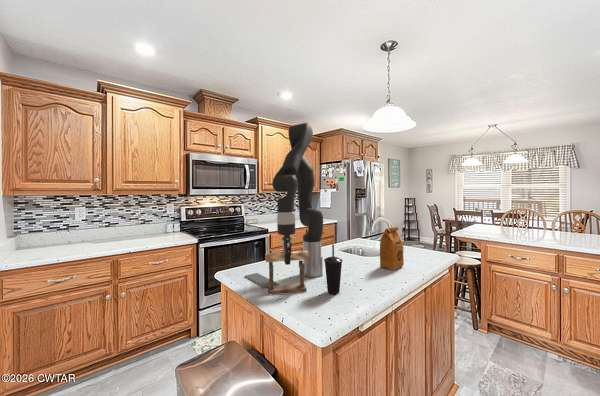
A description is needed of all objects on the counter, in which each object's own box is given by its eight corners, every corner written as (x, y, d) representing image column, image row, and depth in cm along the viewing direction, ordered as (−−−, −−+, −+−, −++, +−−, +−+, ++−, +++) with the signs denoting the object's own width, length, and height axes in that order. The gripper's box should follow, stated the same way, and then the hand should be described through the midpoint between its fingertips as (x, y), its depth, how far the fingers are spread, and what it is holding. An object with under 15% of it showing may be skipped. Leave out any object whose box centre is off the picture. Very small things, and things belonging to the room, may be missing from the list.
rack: (304, 287, 111) (304, 260, 111) (306, 292, 105) (306, 263, 105) (267, 289, 109) (267, 262, 108) (268, 295, 103) (267, 265, 103)
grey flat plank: (244, 276, 126) (244, 275, 126) (256, 273, 130) (256, 272, 130) (265, 288, 110) (265, 287, 110) (278, 284, 115) (278, 283, 115)
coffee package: (406, 267, 137) (406, 227, 137) (393, 271, 130) (392, 229, 130) (391, 263, 146) (390, 225, 145) (377, 267, 138) (376, 227, 138)
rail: (307, 257, 110) (307, 250, 109) (308, 259, 107) (308, 252, 107) (265, 260, 107) (265, 253, 107) (265, 262, 104) (265, 255, 104)
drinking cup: (338, 297, 100) (337, 247, 99) (321, 293, 104) (320, 245, 103) (345, 291, 106) (345, 243, 106) (329, 287, 110) (328, 242, 110)
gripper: (297, 224, 100) (298, 267, 100) (292, 220, 114) (293, 258, 114) (278, 225, 99) (279, 268, 99) (276, 220, 112) (277, 259, 113)
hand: (287, 262), depth 107 cm, fingers closed on rail, 3 cm apart
